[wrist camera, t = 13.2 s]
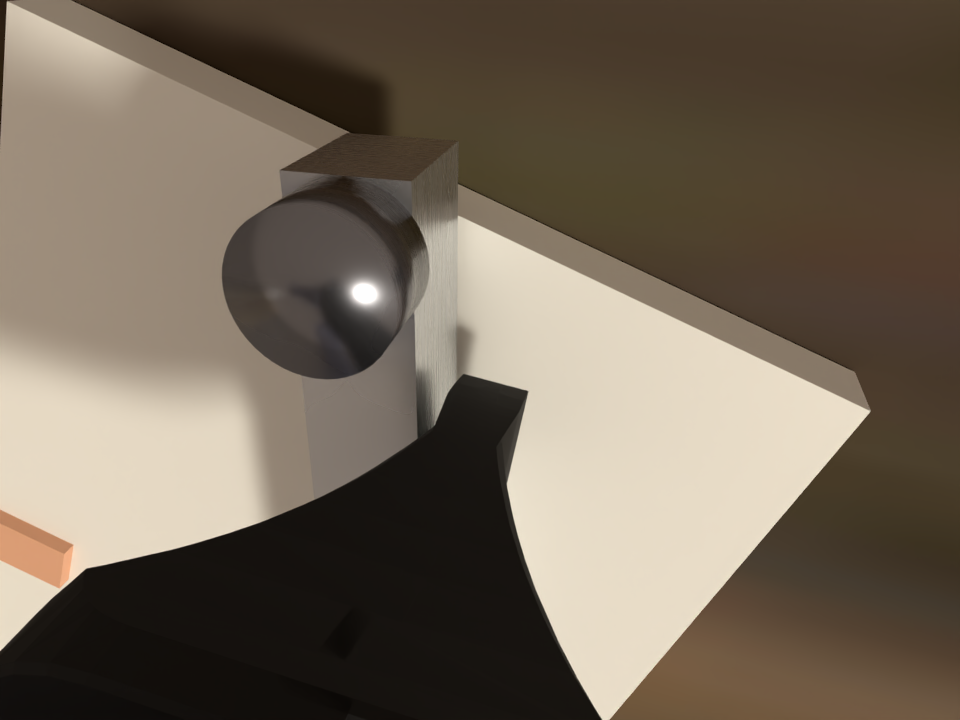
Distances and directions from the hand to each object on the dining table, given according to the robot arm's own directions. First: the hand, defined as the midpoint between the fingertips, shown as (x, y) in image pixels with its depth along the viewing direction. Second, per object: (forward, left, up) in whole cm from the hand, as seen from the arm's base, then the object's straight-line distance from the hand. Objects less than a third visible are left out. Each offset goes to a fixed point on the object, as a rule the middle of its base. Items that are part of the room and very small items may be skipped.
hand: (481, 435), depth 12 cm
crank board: (-5, +2, -2) cm, 6 cm away
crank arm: (-2, +1, -1) cm, 2 cm away
